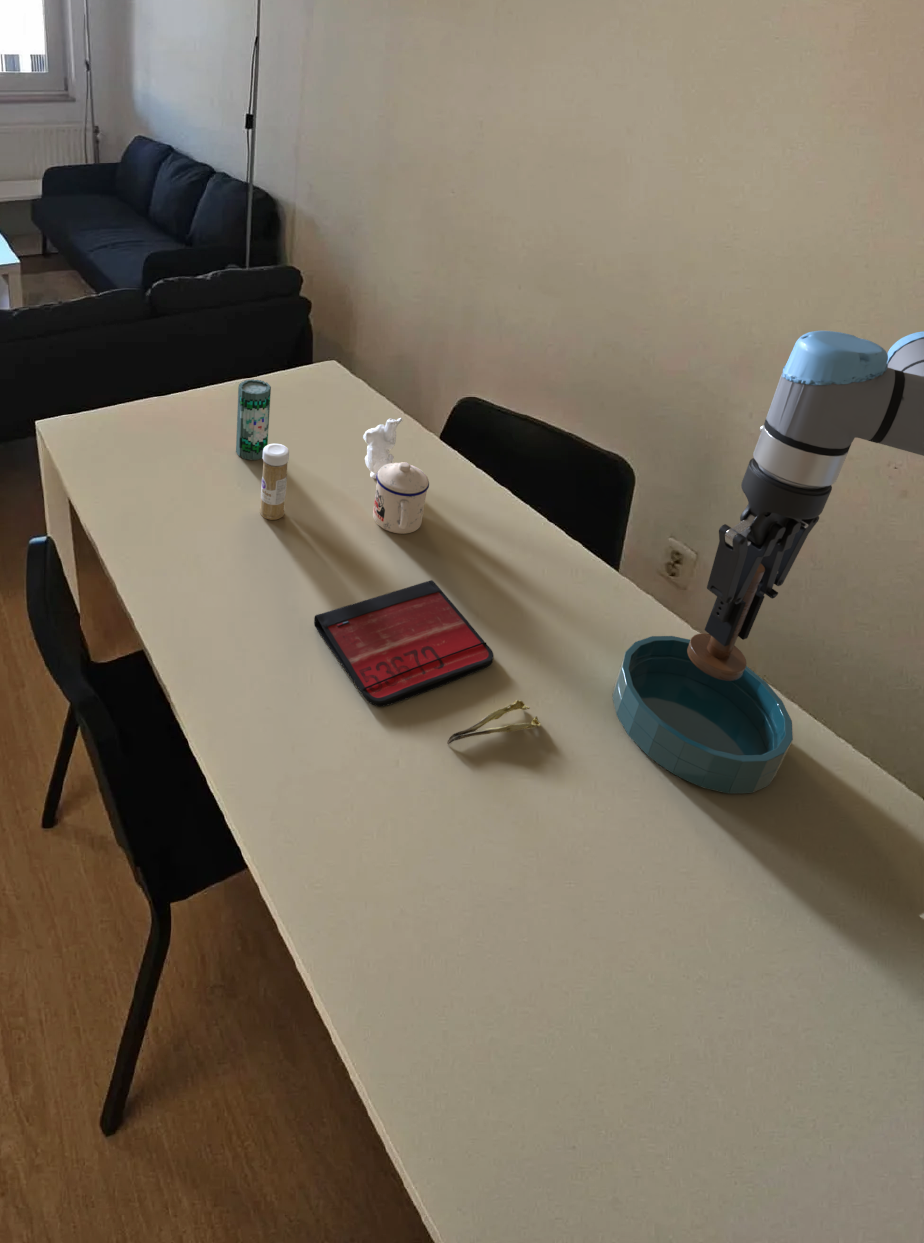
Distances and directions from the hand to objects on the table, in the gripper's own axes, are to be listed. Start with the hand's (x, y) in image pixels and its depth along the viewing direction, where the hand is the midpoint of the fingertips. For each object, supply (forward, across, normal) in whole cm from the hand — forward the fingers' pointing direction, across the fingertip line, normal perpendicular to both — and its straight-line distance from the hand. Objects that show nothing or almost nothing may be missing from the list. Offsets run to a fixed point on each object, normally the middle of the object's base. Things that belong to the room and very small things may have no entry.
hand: (725, 633), depth 90 cm
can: (+16, +30, -78) cm, 85 cm away
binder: (+16, +28, -24) cm, 40 cm away
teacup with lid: (+16, +14, -48) cm, 52 cm away
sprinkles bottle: (+16, +34, -58) cm, 69 cm away
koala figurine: (+16, +9, -63) cm, 65 cm away
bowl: (+16, 0, 0) cm, 16 cm away
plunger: (+5, 0, 0) cm, 5 cm away
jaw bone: (+16, +25, -8) cm, 31 cm away
